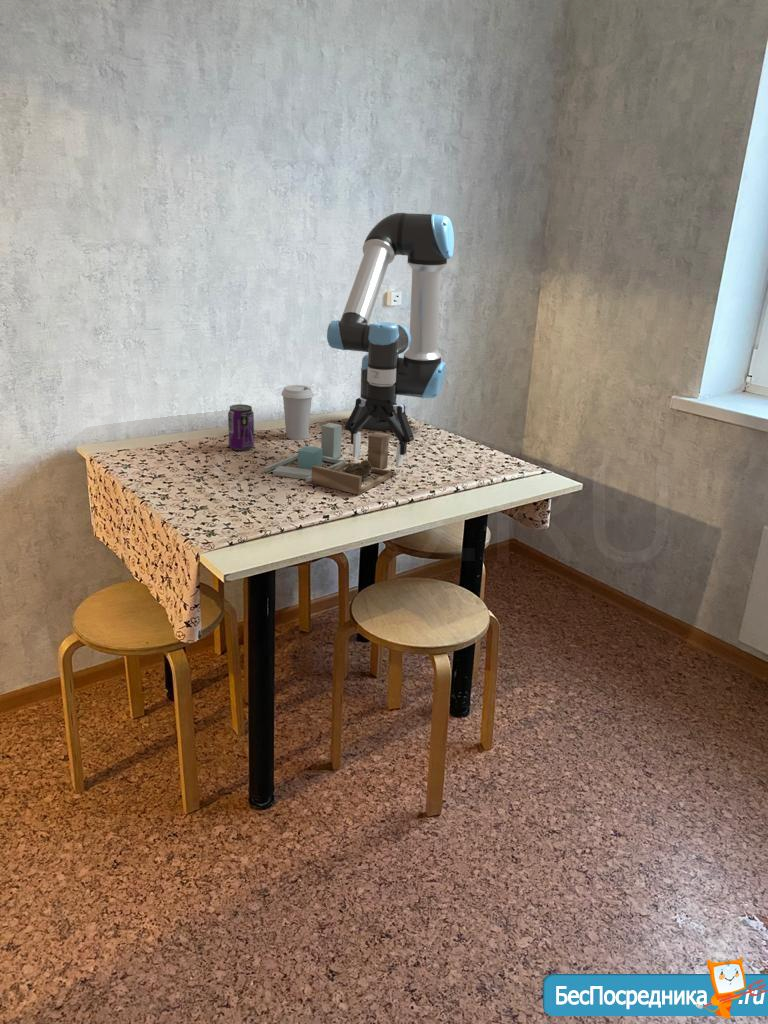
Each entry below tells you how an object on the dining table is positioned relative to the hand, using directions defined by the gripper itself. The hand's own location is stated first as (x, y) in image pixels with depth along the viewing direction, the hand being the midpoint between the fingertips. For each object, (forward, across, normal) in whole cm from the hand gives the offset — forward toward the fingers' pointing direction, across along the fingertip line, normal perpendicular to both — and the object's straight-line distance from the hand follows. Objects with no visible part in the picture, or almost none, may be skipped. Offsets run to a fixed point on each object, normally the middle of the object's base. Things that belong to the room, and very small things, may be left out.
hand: (377, 461), depth 210 cm
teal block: (+2, -15, -10) cm, 18 cm away
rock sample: (+2, -1, -13) cm, 13 cm away
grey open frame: (+2, -15, -10) cm, 18 cm away
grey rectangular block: (+2, -14, -18) cm, 24 cm away
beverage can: (+2, -40, -8) cm, 41 cm away
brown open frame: (+2, 0, -10) cm, 10 cm away
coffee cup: (+2, -34, +11) cm, 36 cm away
